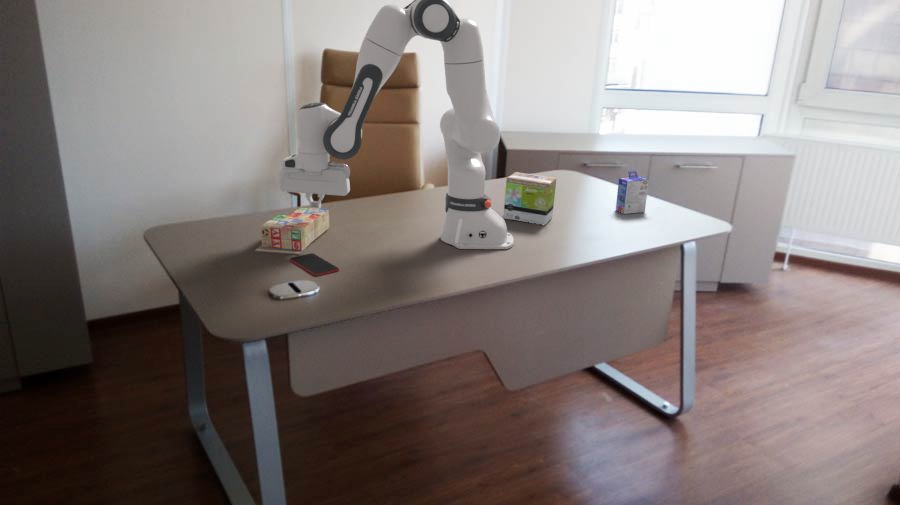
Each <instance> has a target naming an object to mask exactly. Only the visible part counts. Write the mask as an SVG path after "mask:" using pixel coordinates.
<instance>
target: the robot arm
mask: <svg viewBox="0 0 900 505" xmlns="http://www.w3.org/2000/svg"><path fill="white" fill-rule="evenodd" d="M417 36H419V37H421V38H424V39H429V40H434V41H437V42H438V41H439V42H440V44H441V47H442V51H443V63H444V65H443V66H444V74H445V88H446V93H447V94H448V96H449V99H450V102H451V104H452V107H453V108H450V109H448V110H445V112H444V113H443V114H442V116H441V119H440V122H439V128H440V132H441V134H442V136H443V140H444V148H445V155H446V161H447V192H446V195H445V199H444V209H445V219H444V224H443V227H442V230H441V234H440V236H439V238H440V240H441V241H442V242H444V243H445V244H449V245H452V246H454V247H455V248H456V249H458V250H460V249H461V250H509V249H511V248H512V247H513V246H514V242H515V240H514V236H513V235H512V233H510V232H508V226H507V224H506V223H507V222H506V221H505V220H506V219H504V217H502V216H501V215H500V214H498V213H497V212H496V211H495V210H493V209H492V208H491V206H492V201H491V200H492V198H491V197H490V196H489V195H486V193H485V187H486V186H485V185H486V167H485V165H484V162H483V159H482V154H487V153H489V152H492V151H493V150H495V148H497V146H498V145H499V142H500V139H501V131H500V130H501V129H500V126H499V125H498V124H497V122H496V119H495V117H494V115H493V111H492V108H491V104H490V103H491V102H490V100H489V96H488V92H487V87H486V86H487V85H486V73H485V72H486V71H485V70H486V69H485V60H484V49H483V48H484V47H483V42H482V36H481V33H480V29H479V26H478V24H477V23H476V22H475V21H473V19H468V18H462V17H461V18H459V16H458V15H457V13H456V11H455V10H454V8H453V7H452V5H451V4H450V3H449V1H448V0H413V1H412V2H411V3H409V4H408V5H406V6H404V7H401V6H399V5H396V4H386V5H384V6H382V7H381V8H380V9H379V11H378V12H377V13H376V16H374V18H373V20H372V21H371V23H370V25H369V27H368V29H367V31H366V33H365V36H364V37H363V40H362V43H361V45H360V47H359V48H360V49H359V51H358V56H357V60H356V65H355V67H356V68H355V75H354V81H353V85H352V88H351V90H350V92H349V95H348V97H347V99H346V101H345V104H344V106H343V109H342V111H341V112H339V111H337V110H335V109H333V108H331V107H329V105H328V104H326V103H325V102H312V103H307V104H305V105H302V106H301V107H300V108H299V109H298V112H297V116H296V117H297V119H296V137H297V138H298V139H297V140H298V148H297V154H292V155H289V156H287V157H285V158H283V159H282V160H281V163H280V164H281V167H282V168H281V169H280V171H279V173H278V174H279V176H278V188H279V190H280V191H281V192H285V193H286V192H287V193H299V194H300V193H302V194H305V199H306V200H307V202H309V208H318V209H322V201H323V199H324V198H325V196H326V195H328V196H329V195H331V196H342V197H343V196H344V197H345V196H346V195H348V194H349V192H350V191H351V184H350V176H351V168H350V167H349V165H348V164H345V163H344V162H334V161H330V160H331V158H330V156H331V157H333V158H334V159H337V160H349V159H352V158H354V157H355V156H356V155H357V154H358V152H359V151H360V149H361V146H362V138H363V125H364V122H365V121H366V117H367V115H368V113H369V111H370V109H371V107H372V104H373V101H374V99H375V97H376V96H377V94H378V93H379V91H380V90H381V89H382V87H383V86H384V85H385V83H386V82H387V81H388V79H389V78H390V77H391V76H392V74H393V73H394V71H395V70H396V69H397V66H398V64H399V63H400V61H401V58H402V57H403V54H404V52H405V50H406V47H407V46H408V44H409V42H410V41H411V40H412V39H413V38H414V37H417ZM313 194H315V195H317V198H318V200H314V199H313V197H312V196H313Z"/></svg>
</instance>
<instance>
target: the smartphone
mask: <svg viewBox="0 0 900 505" xmlns="http://www.w3.org/2000/svg"><path fill="white" fill-rule="evenodd" d="M289 261H290V262H292V263H293V264H294V265H296V266H298V267H299V268H301V269H303V270H305V271H306V272H307V273H309V274H310V275H312V276H314V277H320V276H325V275H329V274H333V273H338V272H339V271H340V268H339V267H337V266H336V265H334V264H332V263H330V262H329V261H327V260H325V259H324V258H322V257H320V256H319V255H317V254H315V253H307V254H300V255H297V256H292V257H290V258H289Z"/></svg>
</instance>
